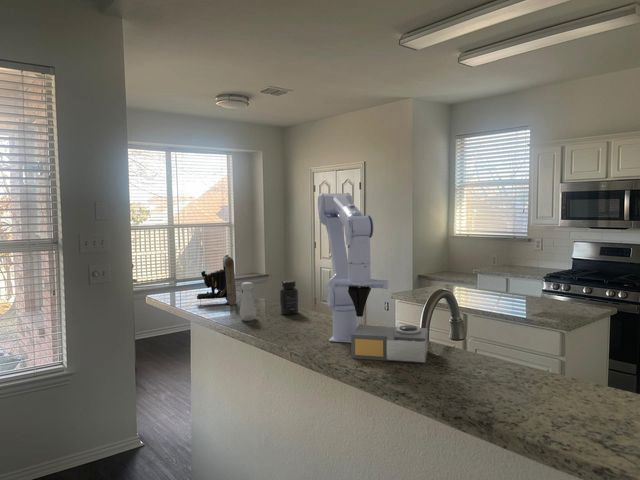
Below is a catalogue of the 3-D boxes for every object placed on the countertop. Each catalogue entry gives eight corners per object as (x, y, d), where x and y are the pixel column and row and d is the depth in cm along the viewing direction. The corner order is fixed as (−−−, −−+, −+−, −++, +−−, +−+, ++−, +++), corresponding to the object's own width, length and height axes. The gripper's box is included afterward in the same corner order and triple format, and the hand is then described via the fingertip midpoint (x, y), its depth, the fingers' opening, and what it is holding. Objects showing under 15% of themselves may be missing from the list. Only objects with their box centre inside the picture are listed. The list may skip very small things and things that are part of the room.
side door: (387, 358, 113) (386, 326, 112) (425, 360, 110) (424, 328, 110) (386, 359, 112) (386, 327, 111) (424, 362, 109) (424, 329, 109)
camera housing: (359, 347, 125) (359, 321, 125) (427, 351, 120) (427, 324, 120) (351, 358, 115) (350, 330, 115) (425, 363, 110) (424, 334, 110)
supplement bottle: (278, 312, 172) (277, 280, 171) (295, 310, 175) (294, 279, 174) (283, 316, 166) (282, 283, 165) (301, 314, 168) (300, 281, 167)
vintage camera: (197, 304, 193) (193, 257, 192) (234, 300, 198) (231, 254, 196) (198, 309, 184) (194, 260, 182) (237, 305, 189) (233, 256, 187)
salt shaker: (258, 320, 160) (257, 282, 159) (241, 322, 158) (240, 284, 157) (254, 316, 165) (253, 280, 165) (238, 318, 163) (237, 282, 163)
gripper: (327, 264, 116) (328, 318, 117) (385, 265, 112) (386, 320, 113) (334, 261, 123) (335, 312, 124) (389, 262, 119) (389, 314, 119)
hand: (360, 315), depth 119 cm, fingers closed
